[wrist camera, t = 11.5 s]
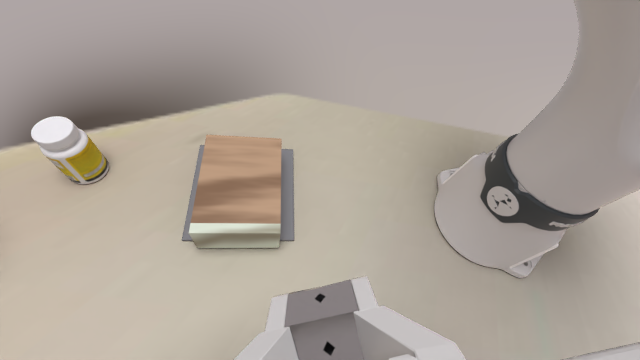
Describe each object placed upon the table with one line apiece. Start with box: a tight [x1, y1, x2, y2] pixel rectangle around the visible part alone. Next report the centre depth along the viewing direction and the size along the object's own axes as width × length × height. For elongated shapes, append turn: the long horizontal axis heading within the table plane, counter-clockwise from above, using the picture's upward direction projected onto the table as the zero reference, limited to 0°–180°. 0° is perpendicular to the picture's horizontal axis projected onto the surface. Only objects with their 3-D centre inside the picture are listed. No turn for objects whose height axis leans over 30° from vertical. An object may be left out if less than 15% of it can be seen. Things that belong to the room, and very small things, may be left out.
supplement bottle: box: [31, 116, 109, 184], centre depth 37 cm, size 5×5×8 cm
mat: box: [182, 145, 294, 241], centre depth 42 cm, size 15×14×1 cm
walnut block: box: [189, 135, 281, 248], centre depth 39 cm, size 5×10×14 cm
